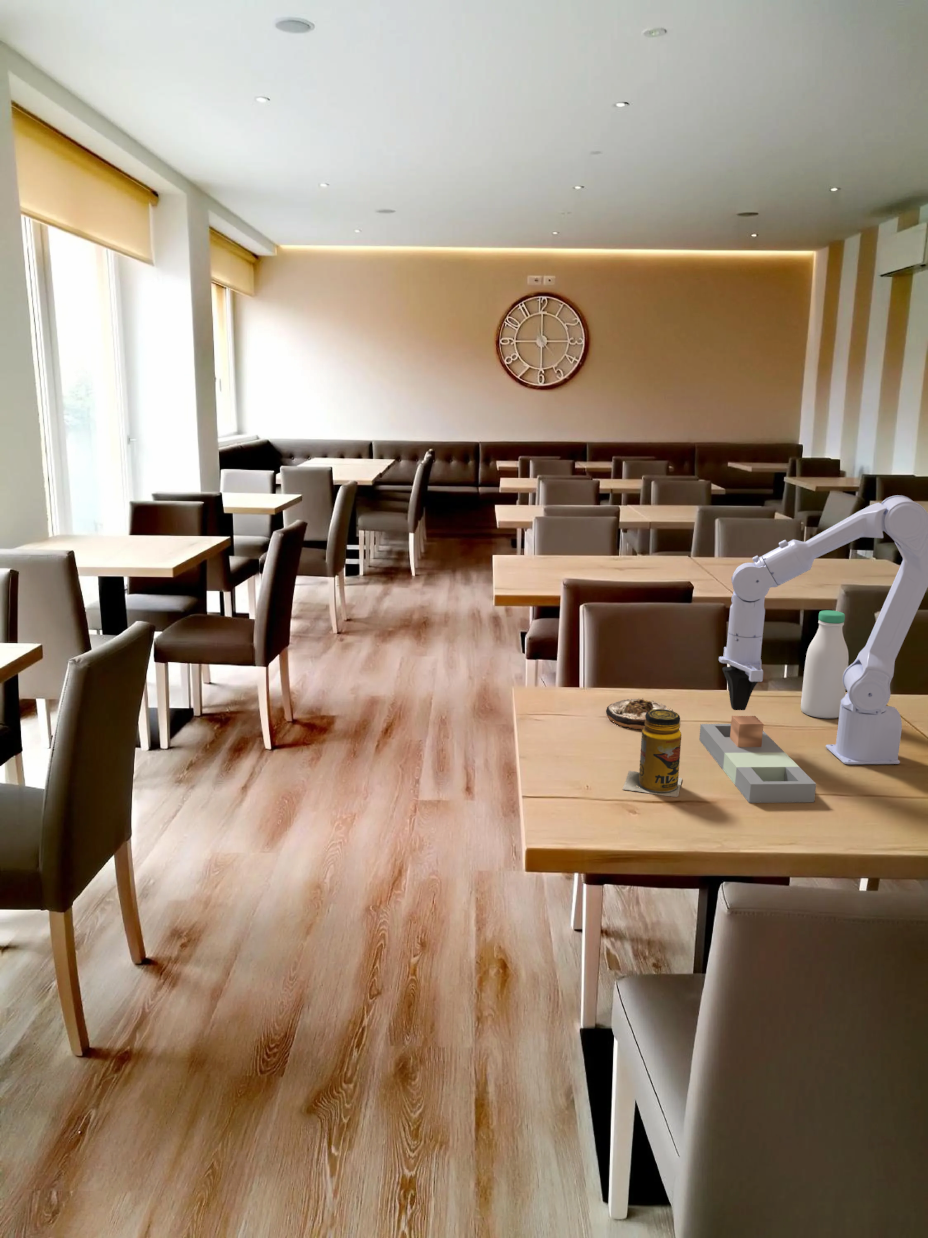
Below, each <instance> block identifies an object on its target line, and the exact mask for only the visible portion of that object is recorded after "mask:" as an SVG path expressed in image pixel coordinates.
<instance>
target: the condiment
mask: <svg viewBox="0 0 928 1238" xmlns="http://www.w3.org/2000/svg"><path fill="white" fill-rule="evenodd" d="M666 709H667V708H666ZM666 709H654V710H650V711H648V712H647V713H646V715H645V718H646V720H645V727H644V728H643V730H641V740H640V755H639V756H640V757H639V771H636V770H634V771H633V770H628V773H627V776H626V778H625V781H624V784H623V786H622V790H626V791H630V792H631V791H632V792H634V791H635V792H640V793H641V792H642V793H646V794H647V793H648V794H652V795H657V796H658V795H659V796H666V797H667V796H668V797H673V798H674V797H679V794H680V793H679V792H680V790H681V784H682V779H683V778H682V777H679V775H680V774H679V773H680V762H681V761H680V759H681V743H682V732H681V730H680V727H681V726H680V723H681V721H680V720H681V717H680V714H679V713H678V712H676V711H674V710H673V711H674V712H673V711H671V710H672V709H669V710H666Z"/></svg>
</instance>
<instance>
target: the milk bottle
mask: <svg viewBox="0 0 928 1238" xmlns="http://www.w3.org/2000/svg"><path fill="white" fill-rule="evenodd" d="M845 619H846V614H845V613H843V612H841V611H837V610H829V609H828V610H827V609H826V610H821V611H819V613H818V622H817V623H818V628H817V630H816V633H815V635H814V637H813V639H812V640H811V642H810V643H809V645H808V648H807V651H806V654H805V655H806V657H805V661H804V671H803V679H802V680H803V682H802V689H801V701H800V710H801V712H802V713H803V714H805V715H807V716H811V717H814V718H818V719H827V720H828V719H837V718H838V719H839V713H840V704H841V700H842V699H843V698H844V697H845V695H846V691H847V690H846V688H845V687H844V685H843V674H844V671H845V670H846V669H847V667H848V666H849V649H848V646H847V643H846V641H845V638H844V633H843V626H844V625H845Z"/></svg>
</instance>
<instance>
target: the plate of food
mask: <svg viewBox="0 0 928 1238" xmlns="http://www.w3.org/2000/svg"><path fill="white" fill-rule="evenodd" d="M654 709H666V710H671V711H673V712H675V711H674V710H673V709H671V707H667V705H665V704H663V703H660V702H657V701H654V700H646V699H644V698H643V697H642V698H633V699H632V698H630V699H628V698H627V699H623V700H618V701H615V702H612V703H611V704H609V705H608V706H607V707H606V709H605V713H606V715H607V717H608V719H609V720H610V722H612V721H614V723H615V724H616V726H617V725H618V727H620V726H622V727H621V728H624V729H627V728H629V729H630V730H636V731H642V730H643V728H644V727H645V720H646V718H645V715H646V713H647V712H648V711H650V710H654ZM614 723H613V724H614ZM615 724H614V725H615ZM629 729H628V730H629Z"/></svg>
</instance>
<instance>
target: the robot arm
mask: <svg viewBox="0 0 928 1238" xmlns="http://www.w3.org/2000/svg"><path fill="white" fill-rule="evenodd" d="M883 532H885V533H886V534H887V535H888V536H889V537H890V538H891V539H892V540H893V541H894V544H895V545H896V548H897V550H898V551H899V553H900V556H901V557H902V561H901V564H900V565H899V569H898V570H897V573H896V575H895V578H894V579H893V582H892V585H891V587H890V588H889V591H888V593H887V596H886V598H885V600H884V602H883V605H882V606H881V607H882V608H881V609H880V612H879V614H878V616H877V619H876V622H875V623H874V626H873V628H872V630H871V631H870V632H871V633H870V635H869V637H868V639H867V642H866V644H865V646H864V647H863V648H862V649H861V650H860V651H859V652H858V655H857V657H856V659H855V660H854V661H853V662H852V663H851V664H850V665H848V667H847V669H846V670H845V671H844V674H843V685H844V687H845V688H846V691H847V692H846V693H845V697H844V698H843V699H842V700H841V704H840V713H839V717H838V724H837V732H836V740H835V744H825V748H826V749H827V750H828V751H830V752H831V754H833V755H834V756H835V757H836V758H838V759H839V760H840V761H841V763H843V764H845V765H894V764H895V765H899V764H900V763H901V760H899V752H900V744H901V737H902V731H903V730H902V728H903V723H902V718H901V717H902V716H901V714H900V712H899V710H898V709H897V708H896V707H894V706H891V705H890V706H889V705H888V703H889V701H890V700H891V682H892V680H893V677H894V673H895V663H896V662H895V661H896V659H897V657H898V654H899V652H900V650H901V647H902V646H903V643H904V640H905V638H906V637H907V635H908V632H909V630H910V627H911V625H912V623H913V621H914V618H915V616H916V615H917V612H918V609H919V607H920V605H921V603H922V600H923V599H924V596H925V593H926V592H927V590H928V511H927V510H926V509H925V507H924V506H922V505H921V504H920V503H918V502H916V501H913V500H912V499H911V498H910V497H908V496H905V495H898V494H897V495H892V496H889V497H886V498H885V499H884V500H883V501H882V502H881V503H880V502H879V501H878V502H875V503H873V504H870V505H867V506H866V507H865V508H863V509H860V510H858V511H856V512H855V513H853V514H851V515H850V516H848V517H846V518H844V519H842V520H841V521H839V522H837V523H836V524H834V525H832V526H830V527H828V528H827V529H825V530H823V531H822V532H820V533H818V534H816V535H815V536H812V537H811V538H809V539H808V540H806V541H803V540H802V541H801V540H798V539H791V540H790V541H787V540H786V539H784V540H781V541H779V542H778V547H776V548H775V549H772V550H770V551H768V552H767V553H765V554H763V555H761V556H758V554H757V555H755V556H753V557H752V558H751V559H752V561H753V562H744V563H742V564H740V565H738V566H737V567H736V569H735V570H734V572H733V574H732V576H731V585H732V588H733V591H732V595H731V599H730V600H731V604H730V607H729V617H728V629H727V640H726V641H727V642H726V646H724V647H723V656H718V661H719V663H721V664H727V665H730V666H722V672H723V674H724V677H725V679H726V684H727V688H728V692H729V693H728V694H729V702H730V706H731V709H732V710H733V711H745V710H746V709H747V706H748V703H749V701H750V697H751V696H752V693H753V691H754V689H755V687H756V686H757V684H758V682H759V683H761V682H763V679H764V670H763V669H762V659H761V658H762V657H761V656H762V645H763V638H764V637H763V636H764V634H763V633H764V625H765V615H766V608H765V601H766V600H765V598H766V596H767V595H768V593H769V590H770V588H777V587H779V586H781V585H783V584H785V583H787V582H789V581H791V580H793V579H795V578H796V577H799V576H801V575H802V574H804V573H806V572H808V571H810V570H812V566H813V564H814V561H815V560H816V559H817V558H819V557H821V556H824V555H827V553H830V552H833V551H835V550H836V549H839V548H840V547H843V546H845V545H847V544H849V543H851V542H853V541H856V540H858V539H860V538H872V539H873V538H874V539H884V533H883Z"/></svg>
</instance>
